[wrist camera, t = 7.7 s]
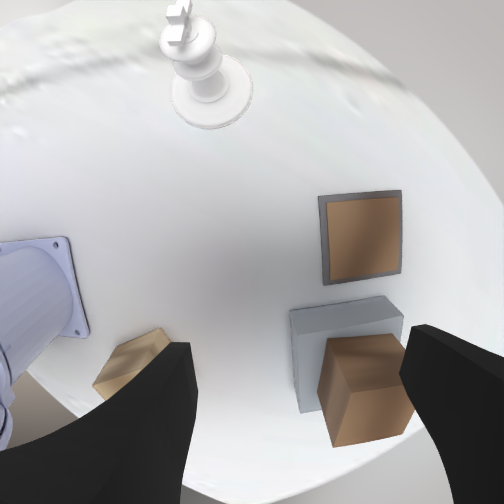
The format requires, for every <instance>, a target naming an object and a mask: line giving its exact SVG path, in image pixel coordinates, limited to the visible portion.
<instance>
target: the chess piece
mask: <svg viewBox="0 0 504 504" xmlns="http://www.w3.org/2000/svg"><path fill="white" fill-rule="evenodd" d="M192 6H193V5H192V3H191V0H177V2H176V5H169V6H168V10H167V13H166V18H167V20H168V21H169V24H168V25H167V26H166V27H165V28H164V29H163V31H162V33H161V35H160V39H159V45H160V48H161V51H162V52H163V53H164V55H165V56H167V57H168V58H170V59H172V60H173V68H174V70H175V72H176V74H175V76H174V78H173V80H172V83H171V88H170V96H171V101H172V104H173V107H174V109H175V111H176V112H177V114H178V115H179V116H180V117H181V118H182V119H183V120H184V121H185V122H187V123H188V124H190V125H192V126H195V127H198V128H203V129H215V128H220V127H224V126H226V125H229V124H231V123H233V122H234V121H236V120H237V119H238V118H240V117H241V116H242V115H243V114H244V112H245V111H246V110H247V108H248V106H249V104H250V102H251V99H252V95H253V84H252V80H251V77H250V75H249V73H248V71H247V69H246V68H245V67H244V65H243V64H242V63H241V62H239V61H238V60H237V59H235V58H233V57H231V56H229V55H226V54H222V51H221V49H220V47H219V46H218V45H217V44H216V43H215V40H216V30H215V27H214V25H213V24H212V22H211V21H209V20H208V19H207V18H205V17H202V16H199V15H190V14H191V10H192Z"/></svg>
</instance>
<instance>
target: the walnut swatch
mask: <svg viewBox="0 0 504 504" xmlns="http://www.w3.org/2000/svg"><path fill="white" fill-rule="evenodd" d="M318 202H319V214H320V228H321V244H322V262H323V285H324V286H326V285H333V284H340V283H346V282H352V281H359V280H365V279H371V278H377V277H383V276H389V275H394V274H400V273H401V265H402V190H391V191H376V192H362V193H349V194H337V195H326V196H318Z"/></svg>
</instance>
